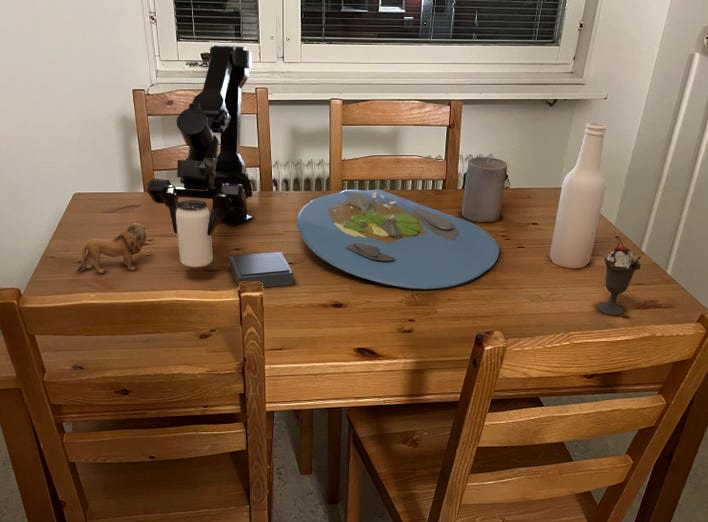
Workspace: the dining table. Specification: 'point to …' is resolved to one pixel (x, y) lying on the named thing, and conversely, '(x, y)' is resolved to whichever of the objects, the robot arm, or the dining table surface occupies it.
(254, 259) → the riser
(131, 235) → the lion figurine
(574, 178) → the alcohol
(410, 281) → the serving platter
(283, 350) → the dining table surface
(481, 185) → the pillar candle
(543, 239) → the dining table surface
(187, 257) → the can
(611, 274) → the sundae
